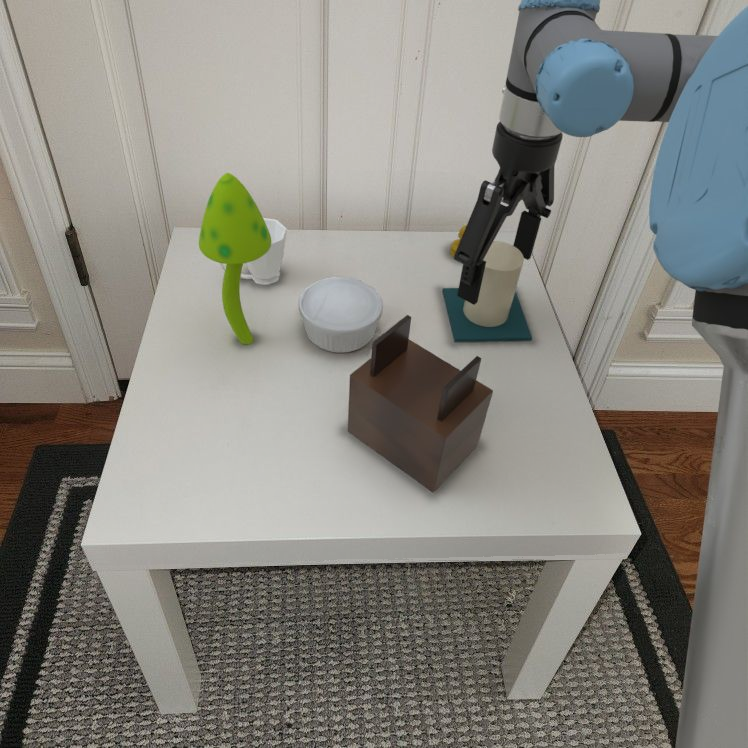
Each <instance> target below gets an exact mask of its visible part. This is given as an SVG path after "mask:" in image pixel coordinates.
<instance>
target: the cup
mask: <svg viewBox="0 0 748 748" xmlns="http://www.w3.org/2000/svg"><path fill="white" fill-rule="evenodd" d="M263 219H264V221H265V223H266V226H267V228H268V230H269V233H270V236H271V246H270V249H269V250H268V251H267V253H266V254H264V255H263V256H262V257H260V258H258V259H256V260H254V261H251V262H248V263H245V264H246V267H247V269H248V272H250V274H247V273H246V274H245V273H242V272H241V277H240V279H244V280H253V282H254V283H256V285H265V286H269V285H272V284H275V283H277V282H279V279H280V277H281V272H280V270H281V269H282V264H283V258H284V255H285V248H286V247H285V246H286V239H287V230H288V228H287V227H286V226H284V224H283V223H281V222H280V221H279V220H278V219H277V218H276V219H275V218H269V217H268V218H267V217H263ZM219 265H220V267H221V269H222V270H224V271H225V269H226V264H224V263H219Z"/></svg>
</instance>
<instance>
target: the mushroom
mask: <svg viewBox="0 0 748 748" xmlns="http://www.w3.org/2000/svg"><path fill="white" fill-rule="evenodd" d="M263 218H264V217H263V215H262V213H261V211H260V209H259V206H258V205H257V203H256V202H255V200H254V198H253V196H252V195H251V194H250V192H249V190H248V189H247V188H246V186H245V185H244V184H243V183H242V182H241V181H240V180H239V179H238V178H237V177H236V176H235V175H234V174H232V173H230V172H226V173H224V174H223V175H222V176H221V177H219V179H218V181H217V182H216V183H215V185H214V186H213V189H212V191H211V194H210V195H209V198H208V201H207V204H206V206H205V211H204V213H203V218H202V222H201V226H200V231H199V236H198V237H199V238H198V246H199V250H200V252H201V253H202V255H204V257H206V258H207V259H209V260H211V261H213V262H215V263H218V264H220V263H223V265H225V266H226V269H225V270H224V275H223V280H222V289H221V301H222V306H223V311H224V314H225V317H226V319H227V322H228V323H229V325H230V327H231V329H232V331H233V333H234V334H235V336H236V338H237V339H238V341H239V342H240V343H241V344H242V345H250V344H252V343H253V342H254V336H253V334H252V331H251V330H250V327H249V325H248V322H247V320H246V317H245V314H244V311H243V306H242V303H241V292H240V290H241V289H240V287H241V278H240V277H241V273H242V271H243V265H244V264H246V263H248V262H251V261H254V260H256V259H258V258H260V257H262V256H263V255H264V254H266V253H267V251H268V250H269V249H270V246H271V236H270V233H269V230H268V228H267V226H266V223H265V221H264V219H263Z"/></svg>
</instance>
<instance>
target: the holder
mask: <svg viewBox="0 0 748 748" xmlns="http://www.w3.org/2000/svg"><path fill="white" fill-rule="evenodd" d="M411 324H412V316H411V315H409V314H406V315H405V316H404V317H403V318H400V320H399V321H398V322H396V323H395V324H393V326H391V327H390V328H388V329H387V330H386V331H385V332H383V333H382V334H381V335H380V336H379V337H377V338H376V339H374V340H373V341H372V342H371V354H370V355H371V356H370V358H369V359H368V360H366V361H365V362H364V363H363V364H362V365H360V366H359V367H358V368H357V369H355V370H354V371H352V372H351V373H350V374H349V386H348V387H349V390H348V409H347V410H348V411H347V413H348V414H347V432H348V433H349V434H351V435H352V436H353V437H355V438H356V439H358V440H359V441H360V442H362V443H363V444H365V445H366V446H367V447H369V448H370V449H372V450H373V451H374V452H375V453H377V454H379V455H380V456H381V457H383V458H384V459H386V460H387V461H388V462H390V463H391V464H392V465H394V466H395V467H397V468H398V469H400V470H401V471H402V472H404V474H406V475H408V476H409V477H410V478H412V479H413V480H415V481H416V482H417V483H419V484H420V485H422V486H423V487H424V488H426V489H428V490H429V491H430V492H431V493H435V492H436V491H437V490H438V489H439V488H440V486H441V485H443V483H444V482H445V481H446V480H448V478H449V477H450V476H451V475H452V474H453V473H454V472H455V470H457V468H458V467H459V466H460V465H461V464H463V462H464V461H465V460H466V459H468V457H469V456H470V455H471V454H472V452H474V450H475V449H476V448H477V447H478V446H479V442H480V439H481V435H482V432H483V428H484V425H485V421H486V417H487V415H488V412H489V407H490V404H491V400H492V397H493V393H494V390H493V389H492V388H490V387H488V385H485V384H483V383H482V382H480V381H478V380H477V378H478V375H479V370H480V366H481V363H482V359H483V358H482V357H480V356H479V355H476V356H475V357H474V358H473V359H472V360H471V361H470V362H468V363H467V364H466V365H465V366H464V367H463V368H462V369H459V368H457V367H456V366H454V365H452V364H451V363H449V362H448V361H446V360H444V359H442V358H440V357H439V356H437V355H436V354H434V353H432V352H431V351H430V350H427V349H426V348H424V347H423V346H421V345H419V344H418V343H416V342H414V341H413V340H411V339H410V333H411V332H410V331H411V326H412V325H411Z"/></svg>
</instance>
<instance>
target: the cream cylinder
mask: <svg viewBox="0 0 748 748" xmlns="http://www.w3.org/2000/svg"><path fill="white" fill-rule="evenodd" d="M513 245H514V244H511V243H508V242H504V241H499V240H494V241H493V243H492V245H491V246H490V248H489V250H488V252H487V254H486V256H485V257H484V259H483V260H484V261H486V265H485V270H484V274H483V279H482V283H481V288H480V293H479V297H478V302H477V303H476V304H475V305H473V304H471V303H469V302H468V301H466V300H465V301H464V306H463V312H464V314H465V316H466V317H467V318H468V319H469V320H470V321H471V322H473V323H475V324H477V325H480V326H484V327H495V326H499V325H501V324H503V323H504V322H505V321H506V320H507V319H508V316H509V312H510V309H511V305H512V302H513V298H514V294H515V291H516V290H517V287H518V283H519V280H520V275H521V272H522V269H523V266H524V265H523V264H524V261H525V258H524V257H523V254H522V253H521V251H520V250H519V249H517V248H516V247H515V246H513ZM516 292H517V291H516Z"/></svg>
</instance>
